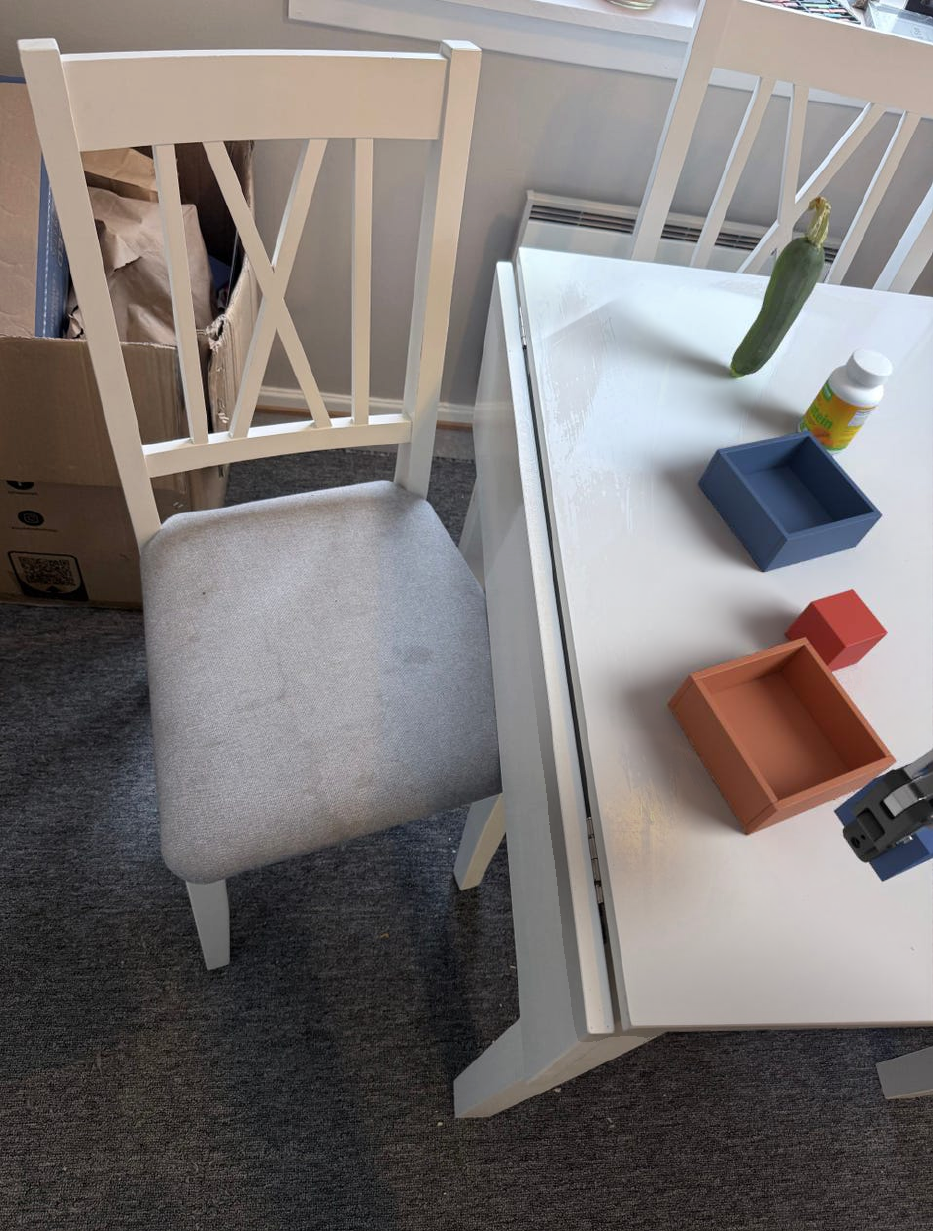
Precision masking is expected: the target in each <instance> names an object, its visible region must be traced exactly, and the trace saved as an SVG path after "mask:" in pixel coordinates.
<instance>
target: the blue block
mask: <svg viewBox="0 0 933 1231" xmlns="http://www.w3.org/2000/svg"><path fill="white" fill-rule="evenodd" d="M913 762H914V761H912V762H911V763H913ZM911 763H907V764H906V765H903V766H901V767H900V766H899V767H898V768H896V769H894V770H895V771H896V770H898V769H900V768H905V767H906V766H908V765H909V764H911ZM929 769H930V768H928V769H927V770H926V771H925V773H924V776H925V775H927V774H928V771H929ZM885 774H886V773H884V774H880V775H879V776H877V777H876V778H874V779H873V780H872V781H871V782H869V783H868V784H866V785H865V786H864V787H862V788H860V789H858V790H857V792H856V793H854V794H853V795H851V796H850V797H849V798H848V799H846V800H845V801H844V802H843V803H841V804H840V805H839V806H838V807H836V808H835V809H834V810H833V813H834V814H835V816H836V817H837V819H838V820H839V822H840V823H841V824H842V826H843V828H844V827H845V826H847V825H848V824H849V823H851V822H852V821H853V820H855V819H856V817H855V816H854V815H853V813H852V812H851V809H852V808H853V807H854V806H855V803H857V802H859V801H860V800H861V799H862V798H863V797H864V796H865V795H866V794H867V793H868V792H869V791H870V790H871V789H872V788H873V787H874V786H875V785H876V784H877V783H878V782H879V781H880V780H881V779H882V778H884V777H885V776H886V775H885ZM912 838H913V840H911V841H910V842H908V843H906V844H905V843H904V842H902V843H900V844H898V845H896V846H895V847H894V848H892V849H890V850H888V851H887V852H885V853H884V854H882V855H881V856H879V857H877V858H876V859H874V860H871V861H869V862H868V864H869V865H870V866H871V868H872V870H873V871H874V873H875V874H876V875H877V877H878V879H879V880H880V881H881V882H882V883H883V882H886V881H888V880H890V879H892V878H894V877H896V876H898V875H900V874H903V873H904V872H907V871H910V870H911V869H913V868H915V867H917V866H919V865H921V864H924V863H925V862H928V861H930V860H931V859H933V830H932V829H930V828H927V829H925V830H923V831H922V832H920V833H918V834H916V835H915V836H913V837H912Z"/></svg>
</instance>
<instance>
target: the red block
mask: <svg viewBox="0 0 933 1231" xmlns="http://www.w3.org/2000/svg"><path fill="white" fill-rule="evenodd" d="M784 634H785V636H786V638H787V639H788V640H789V642H791V641H794V640H798V639H801V638H804V637H806V638H807V640H808V641H809V643H810V644H811V645H812V647H813V648H814V649H815V651H816V652H817V653H818V655H819V656H820V657H821V659H822V660H823V661H824V663H825V664H826V666H827V667H828V668H829V670H830V671H831V672H832V673H833V672H835V671H838V670H841V669H845V668H847V667H850V666H854V665H856V664H858V663H859V662H860V661H861V660H862V659H863V658H864V657H865V656H866V655H867V654H869V652H870V651H871V650H872V649H873V648H874V647H876V645H878V643H880V641H881V640H883V638H885V637H886V636H887V635H888V634H889V632H888V631H887V630H886V628H885V626H884V625H882V623H881V622H880V621H879V619H878V618H877V617H876V616H875V614H874V613H873V612H872V610H870V608H869V607H868V606H867V604H866V603H865V601H863V599H862V598H861V597H860V596H859V594H858V593H857V592H856V591H855V590H854V589H853V588H851V589H848V590H844V591H842V592H839V593H838V592H837V593H835V594H832V595H828V596H825V597H822V598H819V599H815V600H812V601H810V602H809V603H808V605H807V606H806V607H805V608H804V609H803V611H802V612H801V613H800V614H799V615H798V616H797V617H796V618H795V620H794V621H793V622H792V624H790V626H789V627H788V628H787V629H786V631H784Z"/></svg>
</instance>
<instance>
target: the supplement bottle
mask: <svg viewBox="0 0 933 1231" xmlns="http://www.w3.org/2000/svg"><path fill="white" fill-rule="evenodd" d="M892 372H893V364H892V363H891V361H890V360H889V359H888V358H887V357H886V356H885V355H883V354H882V353H880V352H878V351H876V350H873V349H870V348H858V349H856V350H854V351H853V352H852V354H851V355H850V357H849V358H848V360H847V361H846V363H845V365H841V366H838V367H837V368H835V369H833V371H832V372H831V373H830V375H829V376H828V377H827V379H826V381H825V382H824V384H823V385H822V386H821V388H820V390H819V392H818V393H817V395H816V396H815V398H814V399H813V401H812V402H811V403H810V406H809V407H808V408H807V410H806V411H805V413H804V415H803V416H802V417H801V419H800V420H799V422H798V425H797V433H800V432H805V431H810V432H811V433H812V434H813V435H814V436H815V438H816V439H817V440H818V441H819V442H820V443H821V445H822V446H823V447H824V448H825V449H826V450H827V451H828V453H829V454H830V455H836V454H840V453H841V452H843V451H845V450H846V449H847V447H848V446H849V445H850V443H851V442H852V441H853V440H854V438H855V437H856V435H857V434H858V432H859V431H860V430H861V428H862V427H863V426H864V425H865V423H866V421H867V420H868V418H870V415H872V413H873V412H874V410H875V409H876V407H878V405H879V403H880V402H881V400H882V399H883V396H884V390H885V389H884V386H883V385H884V383H886V382H887V380H888V378H889V377H890V376H891V374H892Z"/></svg>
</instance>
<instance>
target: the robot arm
mask: <svg viewBox="0 0 933 1231" xmlns="http://www.w3.org/2000/svg"><path fill="white" fill-rule="evenodd" d="M912 762H913V763H912ZM912 762H911V764H910V763H908V764H909V765H908V764H907V765H908V766H906V767H905V768H900V767H899V768H900V769H898V768H897V769H898V770H896V769H894V768H893V769H891V770H889V771H887V772H886V773H884V774H885V775H886V776H885V777H884V778H882V779H881V780H880V781H879V782H878V783H877V784H876V785H875V786H874V787H873V788H872V789H871V790H870V791H869V792H868V793H867V794H866V795H865V796H864V797H863V798H862V799H861V800H860V801H859V802H857V803H855V806H854V807H853V808H852V809H851V812H852V813H853V815H854V816H855V817H856V819H855V820H853V821H852V822H851V823H849V824H848V825H847V826H845V827H844V826H843V828H842V837H843V838H844V840H845V841H846V842H847V844H848V845H849V847H850V849H851V850H852V852H853V853H854V854H855V856H856V857H857V859H859V860H860V861H861V862H862V863H869V861H871V860H874V859H876V858H877V857H879V856H881V855H882V854H884V853H885V852H887V851H888V850H890V849H892V848H894V847H895V846H896V845H898V844H900V843H902V842H904V843H905V844H906V843H908V842H910V841H911V840H913V838H912V837H913V836H915V835H916V834H918V833H920V832H922V831H923V830H925V829H927V828H930V829H932V830H933V747H932V749H931V750H929V751H927V752H926V753H925V754H922V755H921V756H920V757H919V758H917V759H915V760H914V761H912ZM928 768H930V769H929V771H928V774H927V775H925V776H924V773H925V771H926V770H927V769H928ZM895 770H896V771H895Z"/></svg>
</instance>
